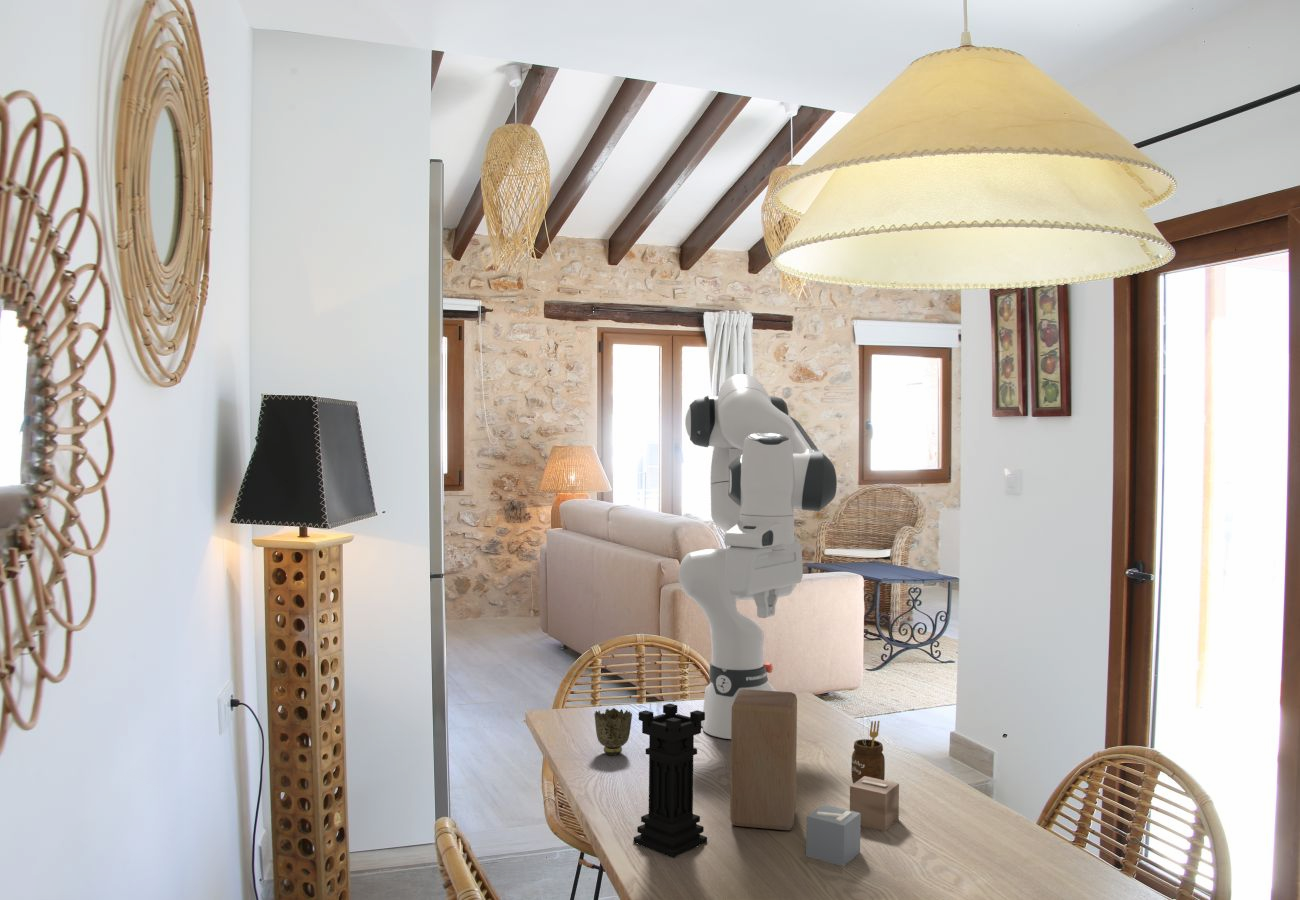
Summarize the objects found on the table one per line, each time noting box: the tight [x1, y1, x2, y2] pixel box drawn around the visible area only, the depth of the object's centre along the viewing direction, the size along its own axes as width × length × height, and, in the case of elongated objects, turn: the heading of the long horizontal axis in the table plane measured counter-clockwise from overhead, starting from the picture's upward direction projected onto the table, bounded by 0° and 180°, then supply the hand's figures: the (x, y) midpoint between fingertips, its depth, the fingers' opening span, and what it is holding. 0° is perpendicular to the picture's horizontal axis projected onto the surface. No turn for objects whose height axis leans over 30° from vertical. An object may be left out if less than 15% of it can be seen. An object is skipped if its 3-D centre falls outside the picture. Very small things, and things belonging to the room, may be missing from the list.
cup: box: [593, 707, 633, 756], centre depth 192 cm, size 8×7×8 cm
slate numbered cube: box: [805, 804, 861, 867], centre depth 145 cm, size 6×6×6 cm
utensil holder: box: [850, 717, 886, 783], centre depth 177 cm, size 6×6×12 cm
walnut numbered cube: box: [849, 776, 900, 832], centre depth 159 cm, size 6×6×6 cm
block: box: [729, 689, 798, 831], centre depth 159 cm, size 10×10×20 cm
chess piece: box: [633, 703, 708, 859], centre depth 149 cm, size 8×8×20 cm
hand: (766, 616), depth 159 cm, fingers closed
